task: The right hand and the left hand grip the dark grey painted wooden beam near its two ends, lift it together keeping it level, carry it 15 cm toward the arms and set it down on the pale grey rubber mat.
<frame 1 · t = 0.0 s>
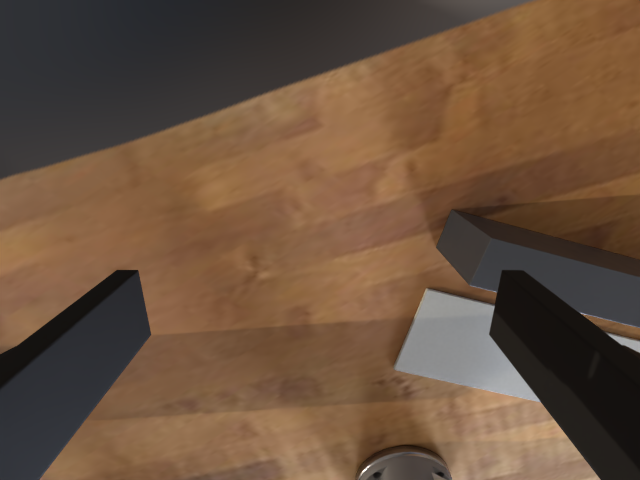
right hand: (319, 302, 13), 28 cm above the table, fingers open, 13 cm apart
mat: (531, 357, 47), on the table
beam: (556, 258, 42), on the table
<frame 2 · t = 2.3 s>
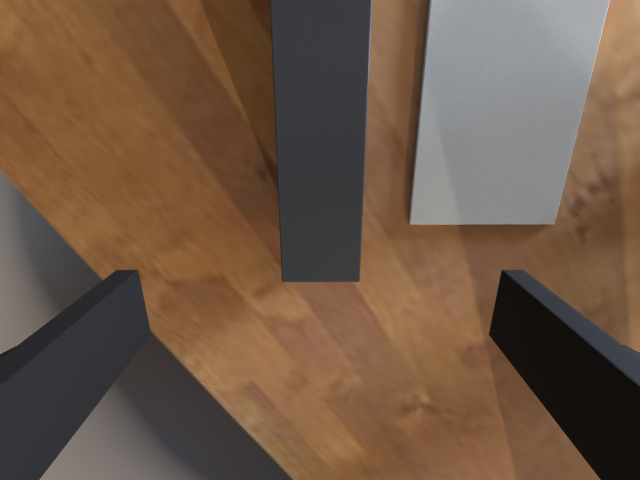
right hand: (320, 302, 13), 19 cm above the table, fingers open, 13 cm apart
beam: (320, 47, 26), on the table
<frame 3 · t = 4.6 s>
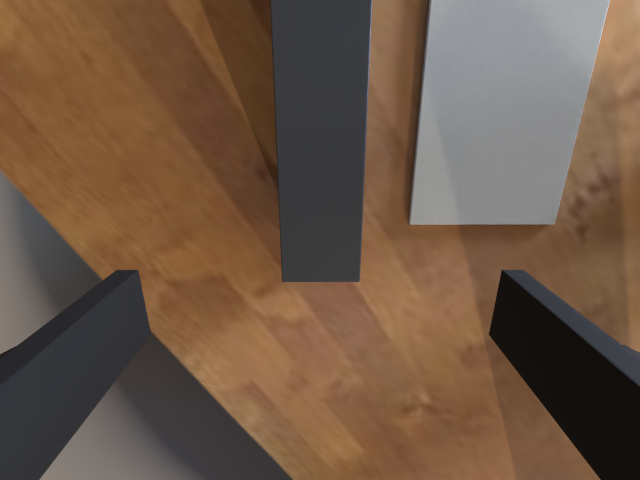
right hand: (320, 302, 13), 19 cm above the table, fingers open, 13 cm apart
beam: (320, 47, 26), on the table, touching left hand
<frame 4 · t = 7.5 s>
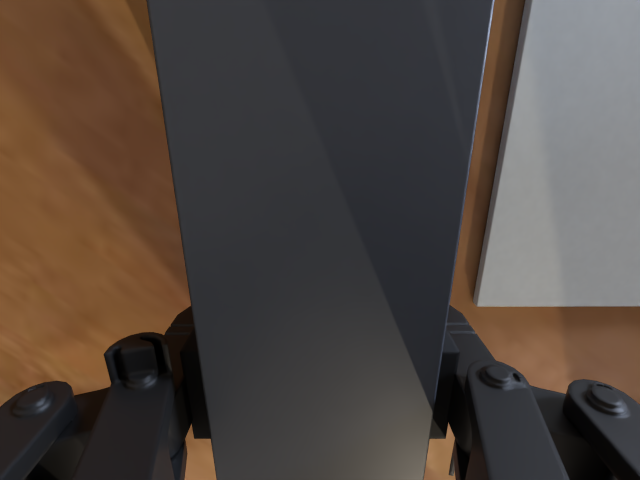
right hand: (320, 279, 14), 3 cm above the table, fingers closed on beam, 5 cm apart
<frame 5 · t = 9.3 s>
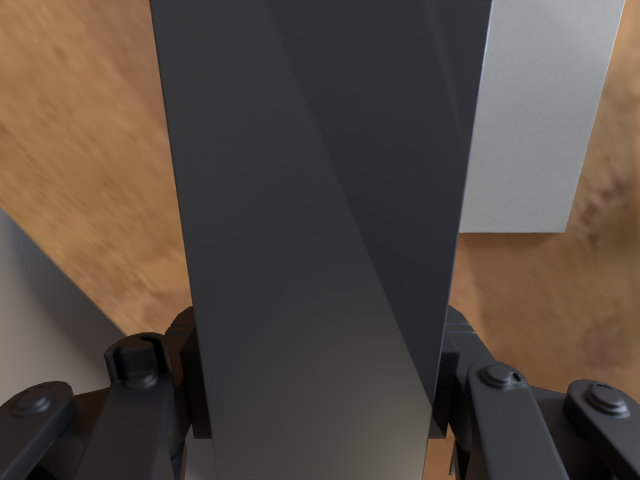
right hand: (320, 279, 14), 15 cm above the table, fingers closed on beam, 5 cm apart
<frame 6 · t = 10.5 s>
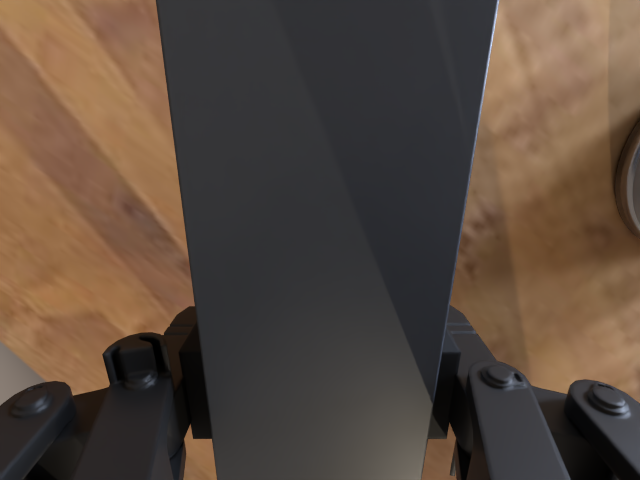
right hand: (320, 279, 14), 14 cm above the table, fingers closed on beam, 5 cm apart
when the right hand's fingers open (4 cm above the table, at t = 13.6 s): beam stays where it is, resting on mat.
when the left hand's fingers open (6 cm above the table, at t = 13.8 s): beam stays where it is, resting on mat.
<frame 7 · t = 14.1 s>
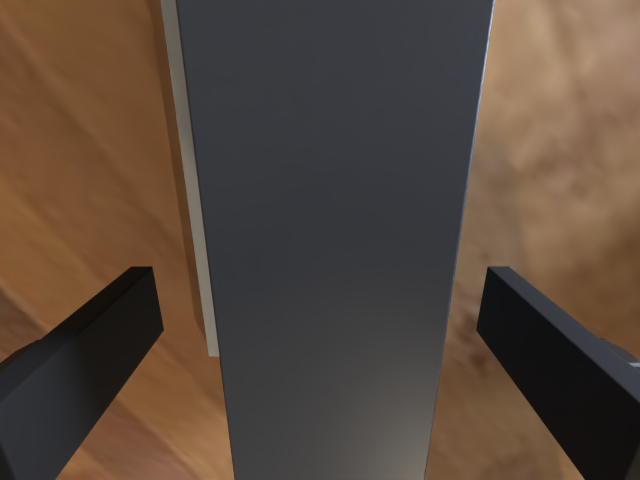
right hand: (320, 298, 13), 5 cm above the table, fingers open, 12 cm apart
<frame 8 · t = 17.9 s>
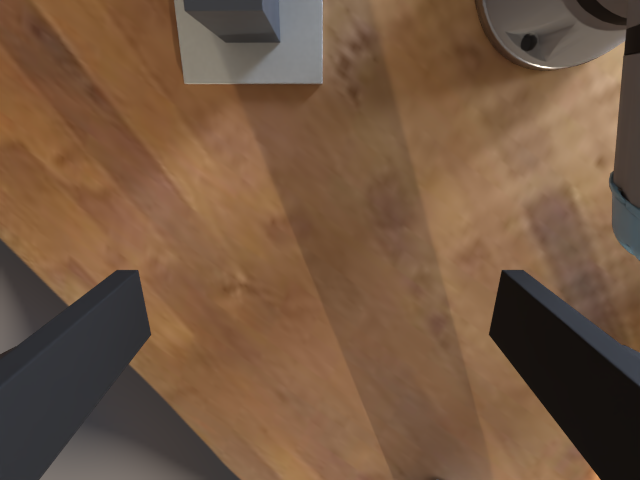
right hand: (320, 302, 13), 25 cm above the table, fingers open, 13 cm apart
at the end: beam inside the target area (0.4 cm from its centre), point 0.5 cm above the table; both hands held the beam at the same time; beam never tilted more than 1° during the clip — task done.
